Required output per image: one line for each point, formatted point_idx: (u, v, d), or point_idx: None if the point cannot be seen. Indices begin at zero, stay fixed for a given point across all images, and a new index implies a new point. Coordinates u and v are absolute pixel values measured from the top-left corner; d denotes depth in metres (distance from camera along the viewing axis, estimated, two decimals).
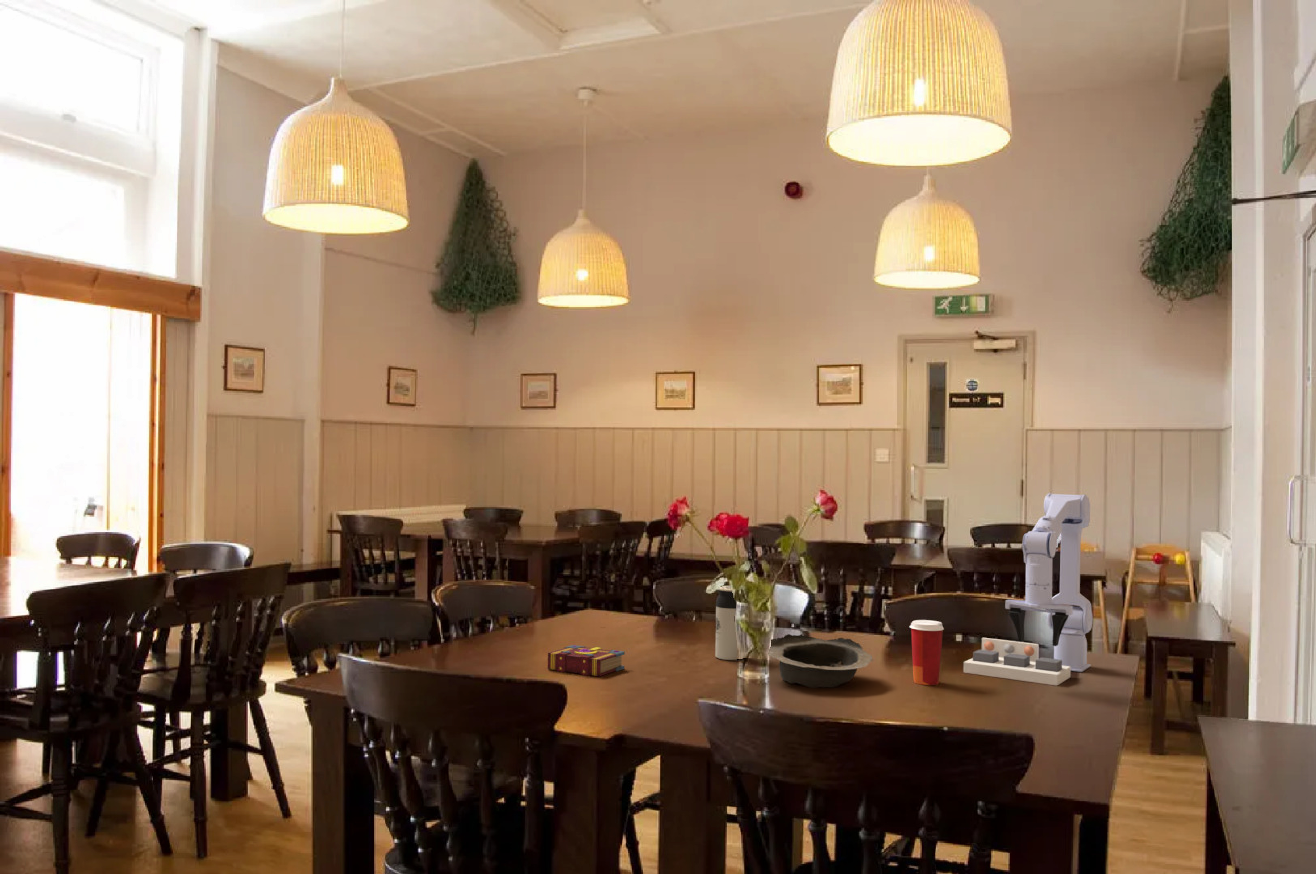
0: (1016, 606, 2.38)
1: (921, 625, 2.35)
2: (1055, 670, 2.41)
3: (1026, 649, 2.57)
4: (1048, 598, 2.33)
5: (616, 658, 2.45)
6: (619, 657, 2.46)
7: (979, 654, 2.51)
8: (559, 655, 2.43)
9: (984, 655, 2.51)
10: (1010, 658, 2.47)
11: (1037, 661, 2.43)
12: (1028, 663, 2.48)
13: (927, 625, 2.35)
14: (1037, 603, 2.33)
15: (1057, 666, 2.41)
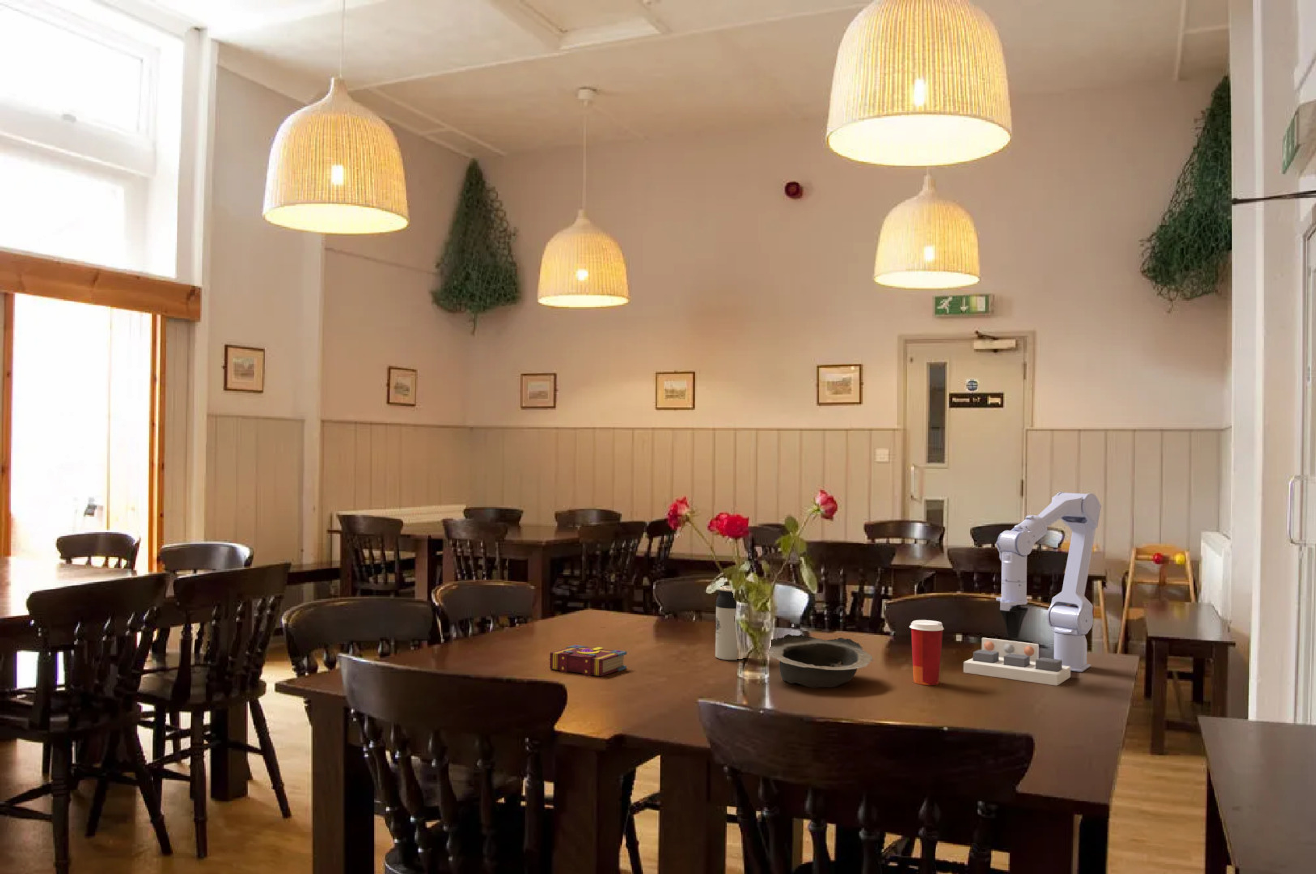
0: None
1: (921, 625, 2.35)
2: (1055, 670, 2.41)
3: (1026, 649, 2.57)
4: (1005, 593, 2.45)
5: (618, 658, 2.45)
6: (621, 657, 2.46)
7: (979, 654, 2.51)
8: (562, 655, 2.43)
9: (984, 655, 2.51)
10: (1010, 658, 2.47)
11: (1037, 661, 2.43)
12: (1028, 663, 2.48)
13: (927, 625, 2.35)
14: (1001, 597, 2.47)
15: (1057, 666, 2.41)
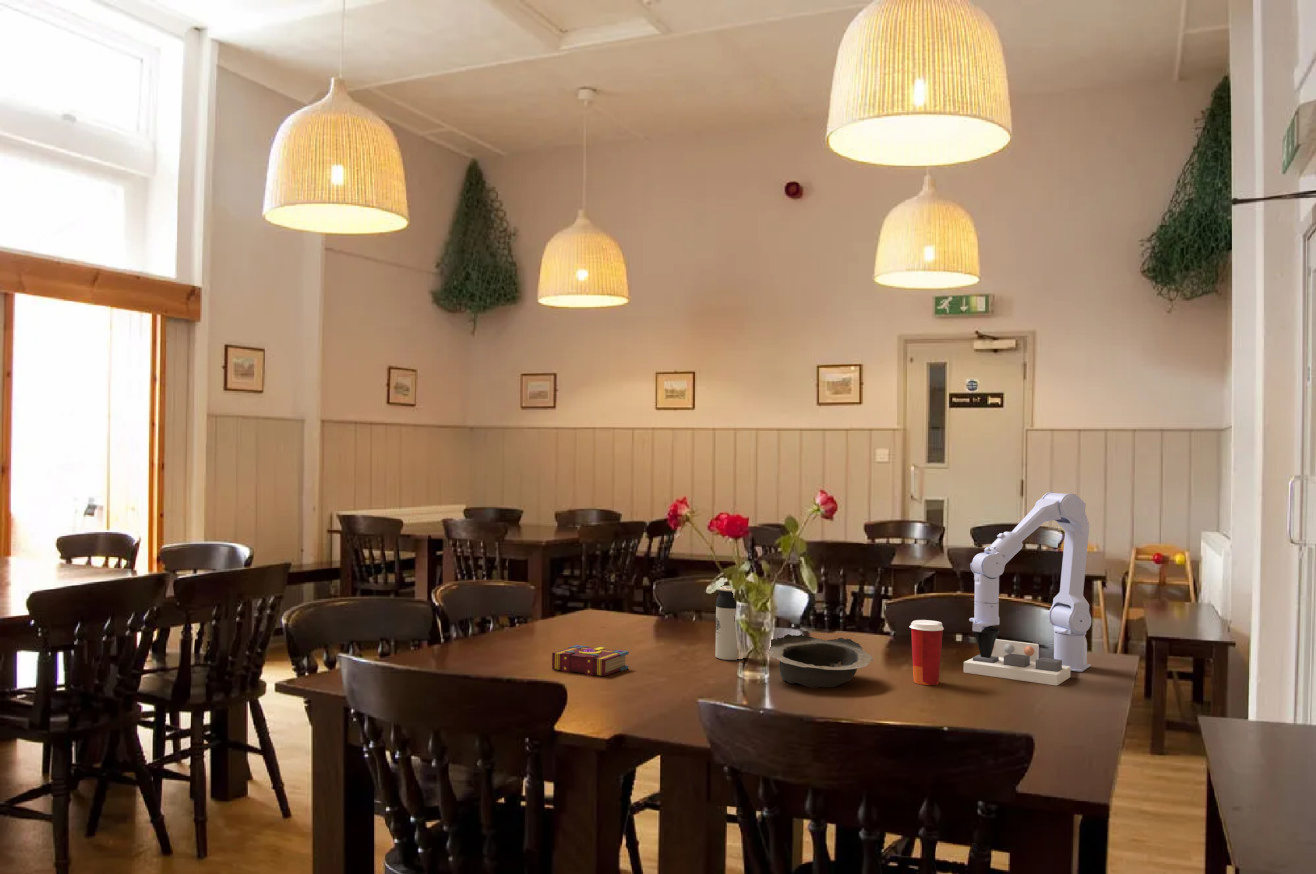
0: None
1: (921, 625, 2.35)
2: (1055, 670, 2.41)
3: (1026, 649, 2.57)
4: (978, 614, 2.52)
5: (620, 658, 2.45)
6: (623, 657, 2.47)
7: (979, 659, 2.51)
8: (564, 655, 2.43)
9: (984, 660, 2.51)
10: (1010, 658, 2.47)
11: (1037, 661, 2.43)
12: (1028, 663, 2.48)
13: (927, 625, 2.35)
14: None
15: (1057, 666, 2.41)
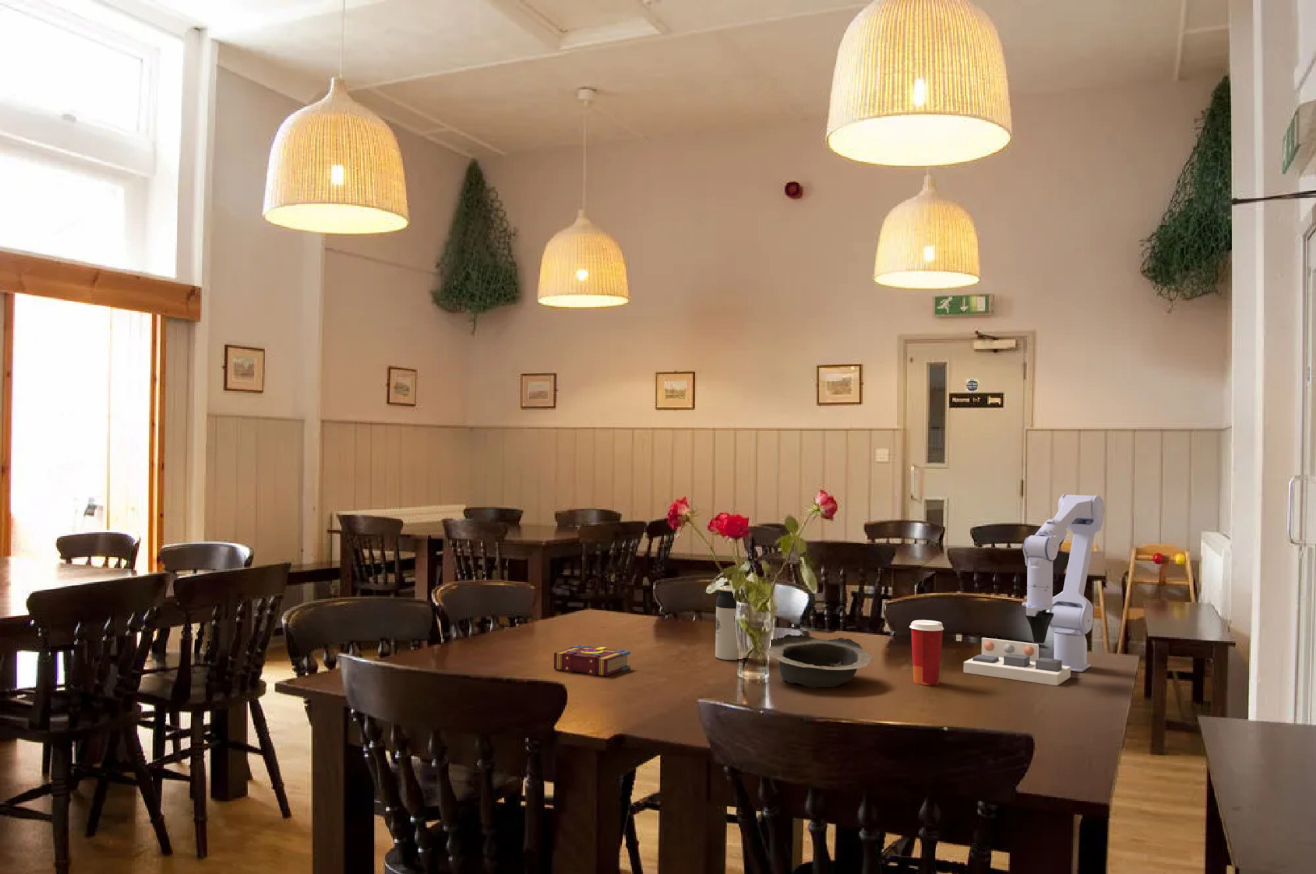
0: None
1: (921, 625, 2.35)
2: (1055, 670, 2.41)
3: (1026, 649, 2.57)
4: (1031, 598, 2.44)
5: (622, 658, 2.46)
6: (625, 657, 2.47)
7: (979, 659, 2.51)
8: (566, 655, 2.43)
9: (984, 660, 2.51)
10: (1010, 658, 2.47)
11: (1037, 661, 2.43)
12: (1028, 663, 2.48)
13: (927, 625, 2.35)
14: (1027, 602, 2.47)
15: (1057, 666, 2.41)
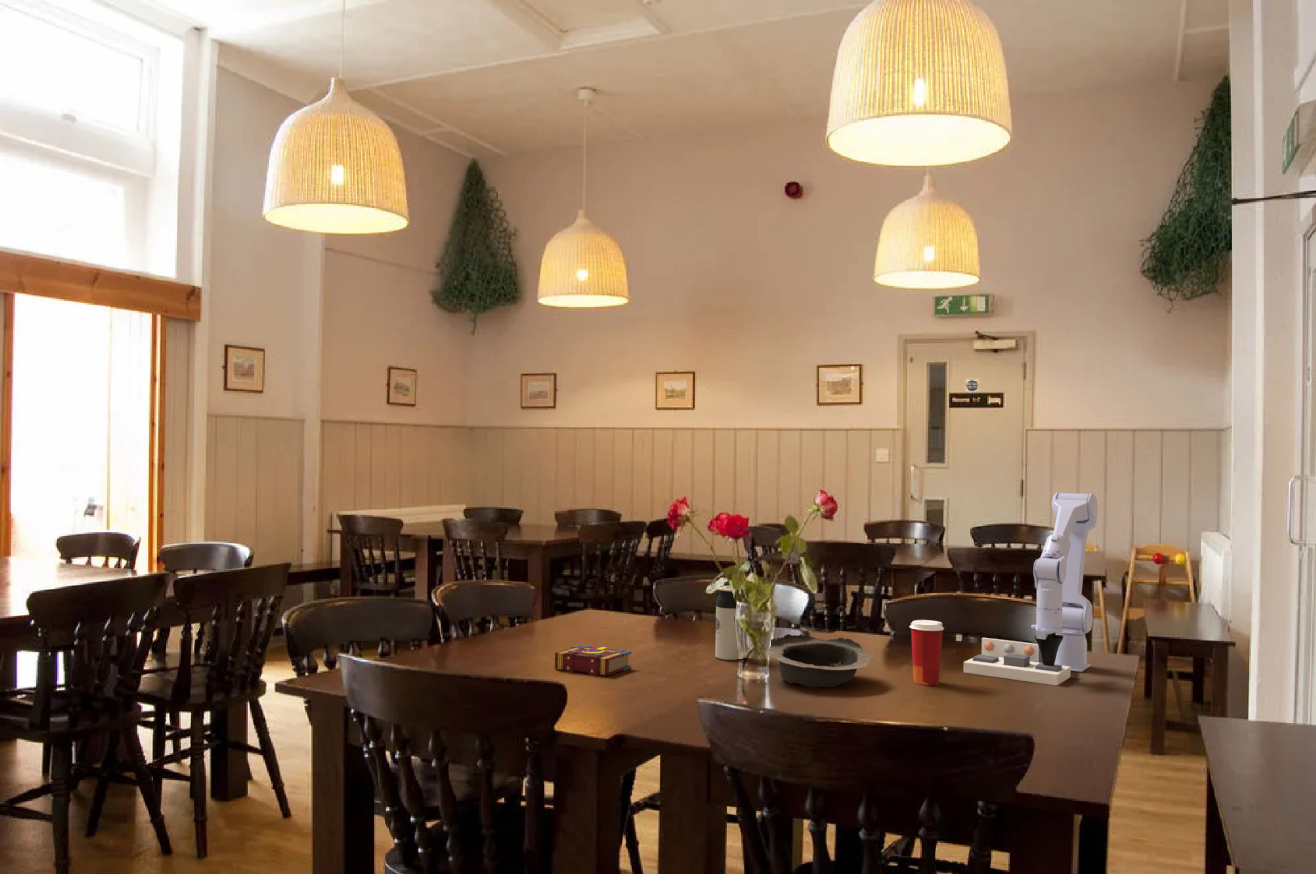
0: None
1: (921, 625, 2.35)
2: None
3: (1026, 649, 2.57)
4: (1041, 621, 2.43)
5: (623, 658, 2.46)
6: (626, 657, 2.47)
7: (979, 659, 2.51)
8: (567, 655, 2.43)
9: (984, 660, 2.51)
10: (1010, 658, 2.47)
11: (1037, 666, 2.43)
12: (1028, 663, 2.48)
13: (927, 625, 2.35)
14: (1036, 624, 2.45)
15: (1057, 671, 2.41)
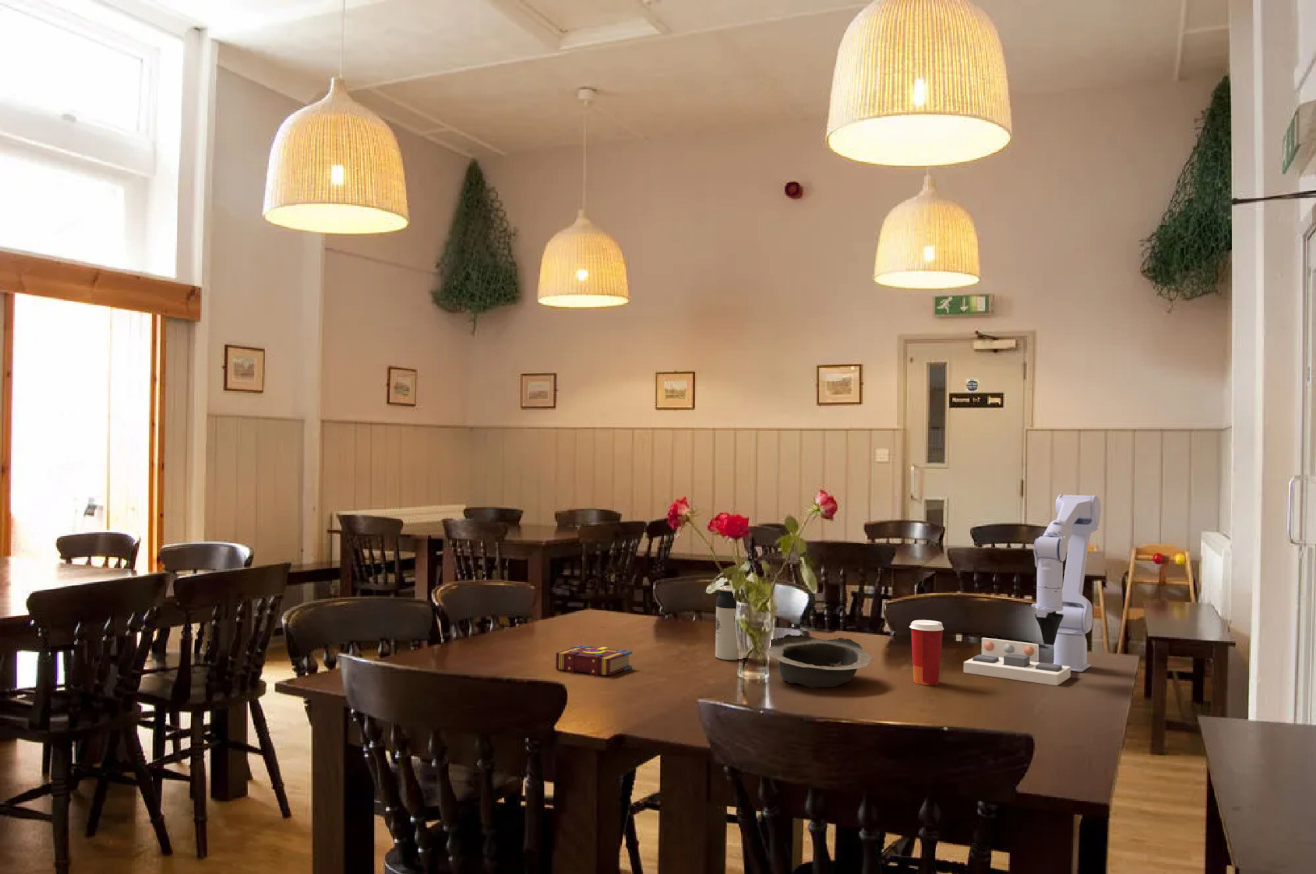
0: None
1: (921, 625, 2.35)
2: None
3: (1026, 649, 2.57)
4: (1041, 599, 2.43)
5: (624, 657, 2.46)
6: (627, 656, 2.47)
7: (979, 659, 2.51)
8: (568, 655, 2.43)
9: (984, 660, 2.51)
10: (1010, 658, 2.47)
11: (1037, 666, 2.43)
12: (1028, 663, 2.48)
13: (927, 625, 2.35)
14: None
15: (1057, 671, 2.41)
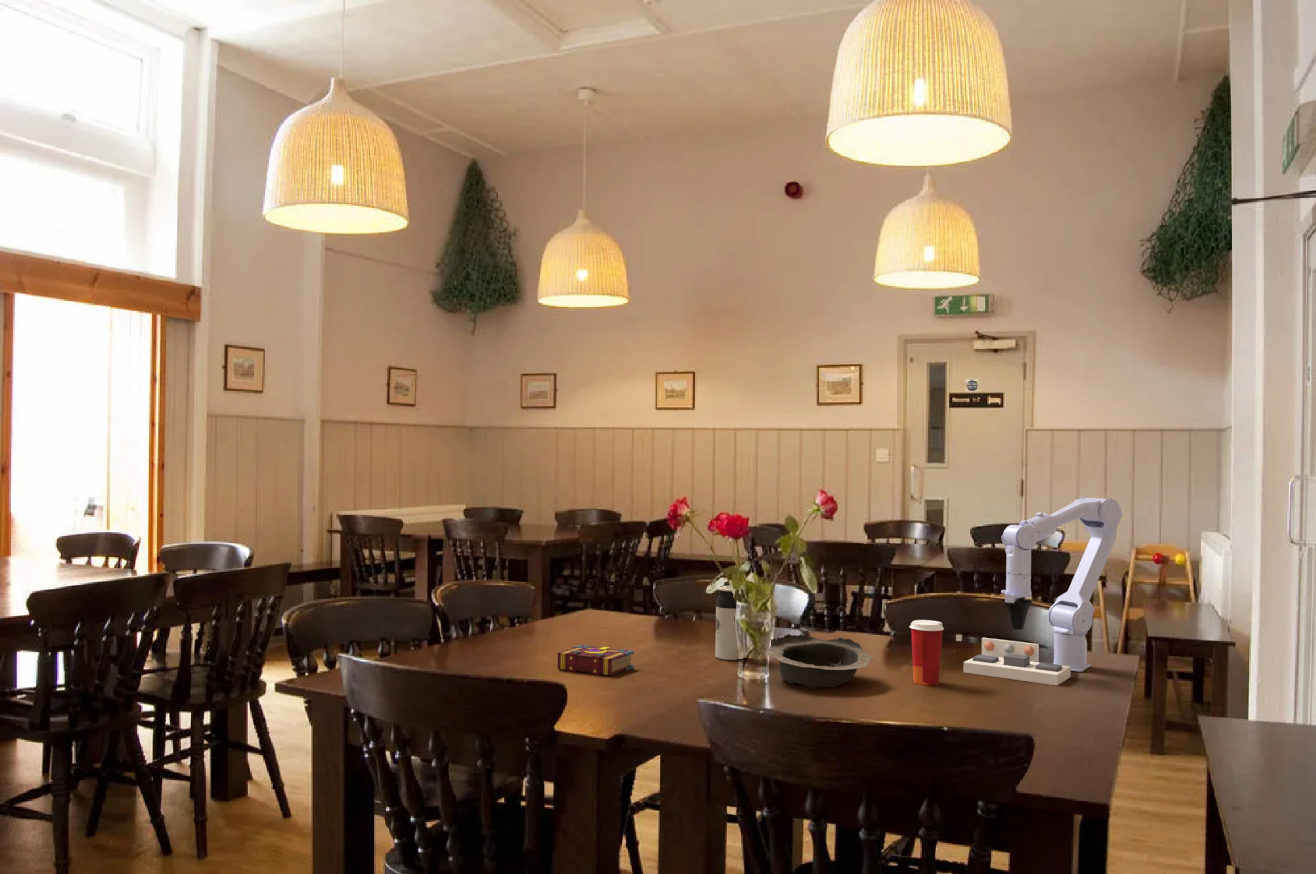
0: None
1: (921, 625, 2.35)
2: None
3: (1026, 649, 2.57)
4: (1010, 586, 2.51)
5: (626, 657, 2.46)
6: (628, 656, 2.47)
7: (979, 659, 2.51)
8: (570, 655, 2.43)
9: (984, 660, 2.51)
10: (1010, 658, 2.47)
11: (1037, 666, 2.43)
12: (1028, 663, 2.48)
13: (927, 625, 2.35)
14: (1006, 589, 2.54)
15: (1057, 671, 2.41)
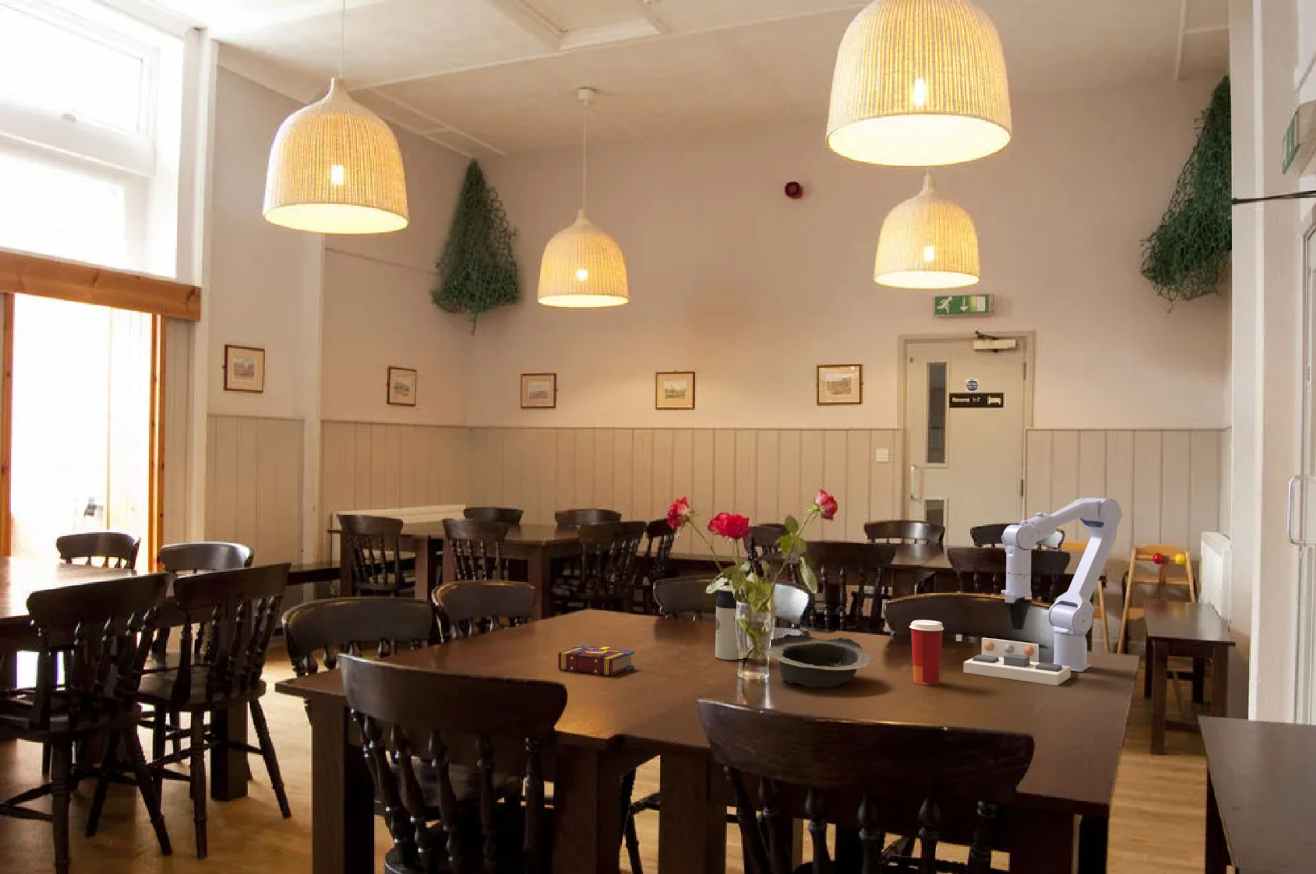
0: None
1: (921, 625, 2.35)
2: None
3: (1026, 649, 2.57)
4: (1010, 586, 2.51)
5: (626, 657, 2.46)
6: (629, 656, 2.47)
7: (979, 659, 2.51)
8: (570, 655, 2.43)
9: (984, 660, 2.51)
10: (1010, 658, 2.47)
11: (1037, 666, 2.43)
12: (1028, 663, 2.48)
13: (927, 625, 2.35)
14: (1006, 589, 2.54)
15: (1057, 671, 2.41)
